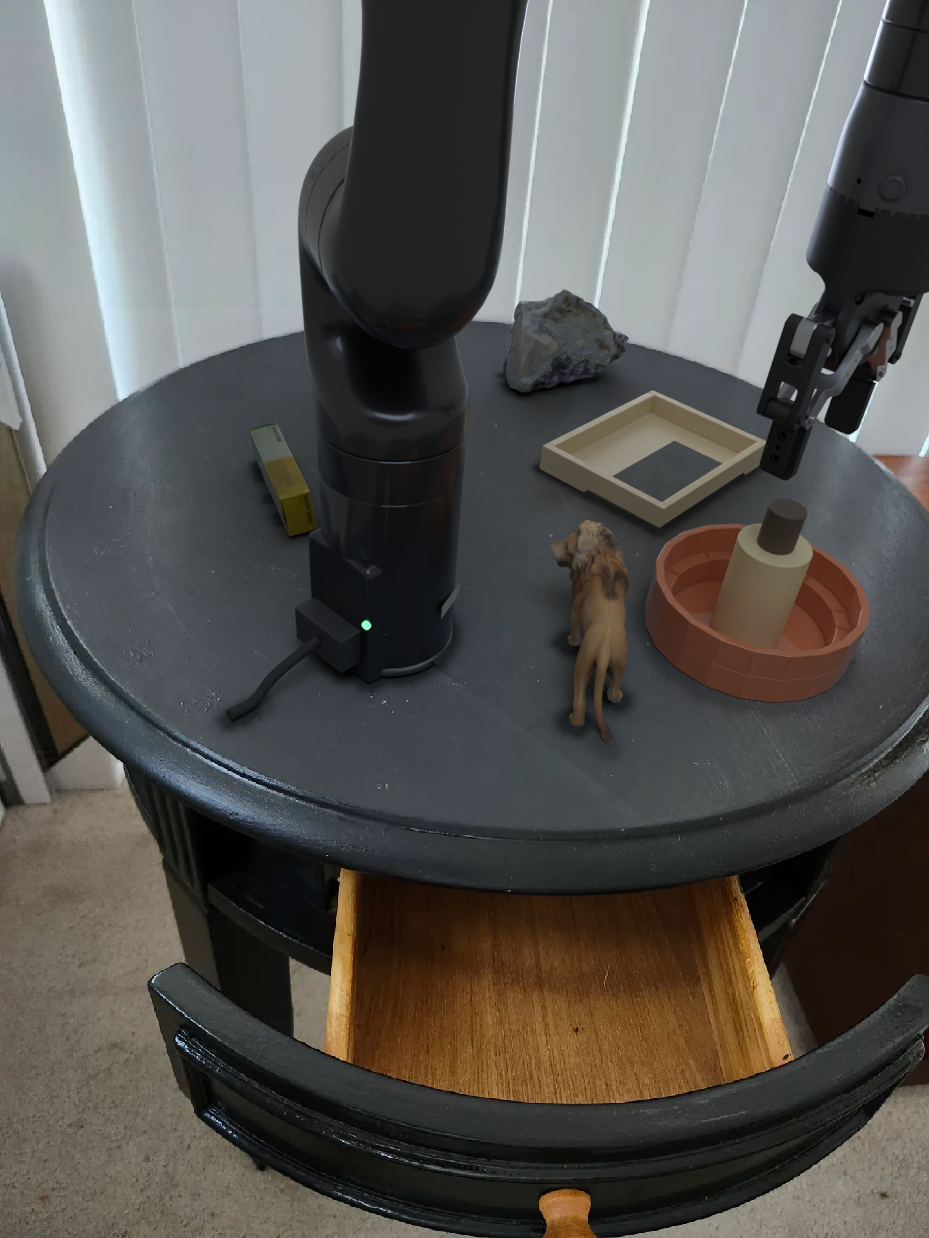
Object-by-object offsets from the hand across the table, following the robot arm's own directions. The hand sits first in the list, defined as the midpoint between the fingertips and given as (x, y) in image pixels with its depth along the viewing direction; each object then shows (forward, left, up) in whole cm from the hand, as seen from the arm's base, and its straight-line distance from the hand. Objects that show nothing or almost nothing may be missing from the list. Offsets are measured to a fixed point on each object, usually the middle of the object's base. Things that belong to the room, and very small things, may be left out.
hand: (808, 450), depth 60 cm
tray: (+15, +19, -16) cm, 29 cm away
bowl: (0, 0, -16) cm, 16 cm away
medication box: (-15, +37, -16) cm, 43 cm away
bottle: (0, 0, -16) cm, 16 cm away
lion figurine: (-12, +6, -16) cm, 21 cm away
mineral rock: (+22, +36, -16) cm, 45 cm away
